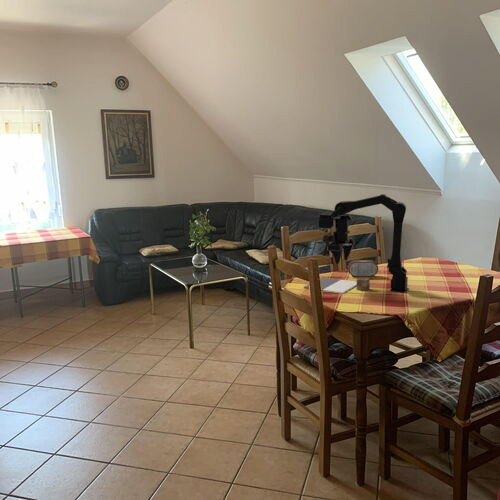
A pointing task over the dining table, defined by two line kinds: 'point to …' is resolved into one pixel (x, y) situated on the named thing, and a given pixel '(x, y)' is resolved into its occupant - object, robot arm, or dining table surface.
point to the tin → (363, 268)
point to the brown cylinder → (363, 284)
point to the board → (335, 285)
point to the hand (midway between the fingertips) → (341, 262)
